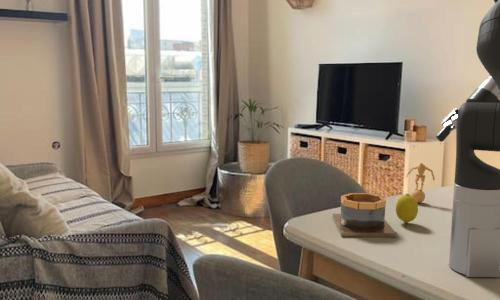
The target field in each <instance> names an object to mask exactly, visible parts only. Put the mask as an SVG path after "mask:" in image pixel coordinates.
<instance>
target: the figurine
mask: <svg viewBox="0 0 500 300" xmlns="http://www.w3.org/2000/svg"><path fill="white" fill-rule="evenodd" d="M414 170H417V172H418V173H417V174H415V180H414V182H415V185H416V187H415V189H414V190H413V191H412V193H411V194H410V195H411V196H413V197H414V198H415V199H416V201H417V204H420V203H422V202H424V201H425V199H426V194H425V192H424V191H423V188H424V182H425V179H426V175H425V171H426V170H427V171H429V172H430V173H431V176H432V181H435V175H434V171H433V170H432V169H431V168H429V167H428V166H426V165H425V164H423V163H422V162H420V164H419V165H416V166H414V167H412V168H410V170H409V171H408V173H407V174H406V177H405V178H408V177H409V175H410V174H411V173H412V171H414ZM418 181H420V182H421V184H420V185H421V186H420V189H419V182H418Z"/></svg>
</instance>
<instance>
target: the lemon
mask: <svg viewBox="0 0 500 300" xmlns="http://www.w3.org/2000/svg"><path fill="white" fill-rule="evenodd" d="M411 195H412V194H410V193H406V194H403V195H401V196H399V198H398V199H397V201H396V205H395V214H396V216H397V217H398V219H399V220H400V221H402V222H403V223H404V224H409V223H410V222H412V221H414V220H415V219H416V218H417V216H418V212H419V205H418V204H419V203H417V201H416V199H415V198H414V197H413V196H411Z"/></svg>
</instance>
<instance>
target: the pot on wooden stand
mask: <svg viewBox="0 0 500 300" xmlns="http://www.w3.org/2000/svg"><path fill="white" fill-rule="evenodd" d="M386 203H387V200H386V199H385V197H383V196H382V195H378V194H373V193H368V192H349V193H346V194H343V195H341V196H340V213H332V214H331V215H332V216H331V217H332V218H331V219H333V222H334V224H335V226H336V228H337V230H338V233H339V234H340V237H345V238H346V237H347V238H351V237H352V238H357V237H358V238H366V237H367V238H397V233H396V231H395V230H394V228H392V226H391V225H390V224H389V223H388V222H387V220H386V205H387V204H386Z"/></svg>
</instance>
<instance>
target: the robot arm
mask: <svg viewBox="0 0 500 300" xmlns="http://www.w3.org/2000/svg"><path fill="white" fill-rule="evenodd" d="M493 1H494V4H493V5H492V6H491V7H490V9H489V10H488V11H487V12H486V14H485V15H484V16H483V17H482V20H481V22H480V24H479V28H478V35H477V40H476V41H477V42H476V54H477V58H478V59H479V62H480V63H481V64H482V66H483V68H484V69H485V71H486V72H487V73H488V74H489V75H488V77H486V78H485V79H484V80H483V81H482V82H481V83H480V84H479V85H478V86H477V88H476V89H475V90H473V92H472V93H471V94H470V95H469V96H468V97H467V98H466V100H465V102H464V103H462V104H461V105H460V107H459V109H458V108H457V107H454V108H453V109H452V110H451V112H449V114H448V115H447V116H446V117H445V118H444V119H443V120H442V121H441V122H440V123H441V125H442V126H443V128H441V130H440V131H438V133H437V134H436V136H435V137H436V139H437V140H438V141H439V142H444V141H445V139H446V138H447V137H448V136H449V135H450V134H451V132H454V131H455V130H456V131H455V132H456V133H455V136H456V141H455V144H456V145H455V148H456V149H455V151H456V153H455V169H454V183H453V185H454V186H453V197H452V198H453V199H452V210H451V211H452V213H451V214H452V215H451V225H450V226H451V227H450V240H449V241H450V242H449V243H450V245H449V259H448V266H449V268H450V269H452V270H453V271H454V272H456V273H460V274H462V275H464V276H465V277H468V278H500V168H497V167H495V166H493V165H491V164H489V163H487V162H485V161H483V160H482V159H480V158H479V157H478V156H477V155H476V153H475V151H482V152H483V151H484V152H485V151H487V152H499V153H500V0H493Z"/></svg>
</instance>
